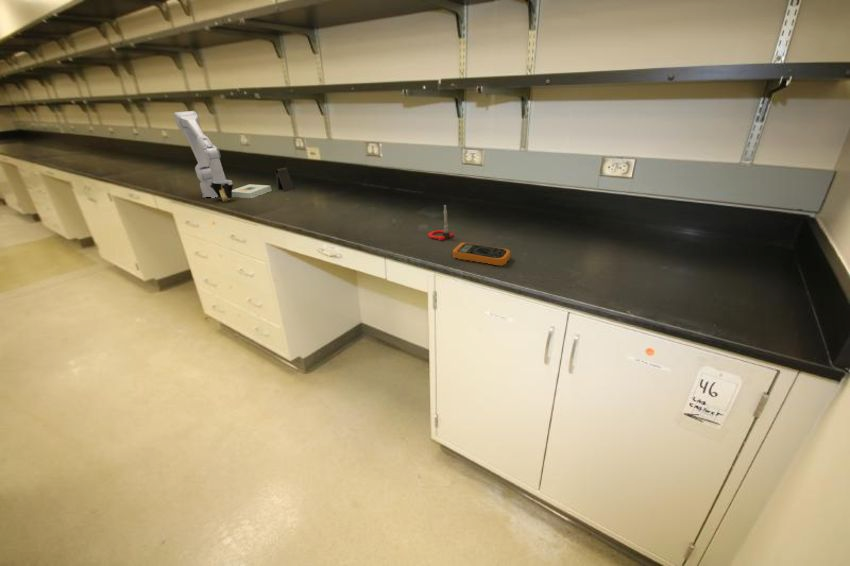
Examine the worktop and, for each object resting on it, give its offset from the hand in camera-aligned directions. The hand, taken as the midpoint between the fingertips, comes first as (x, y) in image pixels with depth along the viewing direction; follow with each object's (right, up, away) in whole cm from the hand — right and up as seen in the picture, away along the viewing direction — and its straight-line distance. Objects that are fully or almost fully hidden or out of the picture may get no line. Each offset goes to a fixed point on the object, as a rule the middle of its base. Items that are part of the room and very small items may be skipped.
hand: (225, 197), depth 199 cm
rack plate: (+9, +5, +11) cm, 15 cm away
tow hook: (+114, -29, -58) cm, 131 cm away
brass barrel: (0, -1, +1) cm, 2 cm away
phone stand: (+27, +8, +17) cm, 33 cm away
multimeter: (+128, -39, -76) cm, 154 cm away
